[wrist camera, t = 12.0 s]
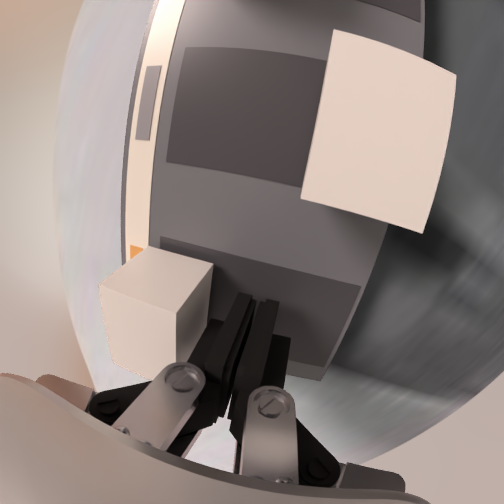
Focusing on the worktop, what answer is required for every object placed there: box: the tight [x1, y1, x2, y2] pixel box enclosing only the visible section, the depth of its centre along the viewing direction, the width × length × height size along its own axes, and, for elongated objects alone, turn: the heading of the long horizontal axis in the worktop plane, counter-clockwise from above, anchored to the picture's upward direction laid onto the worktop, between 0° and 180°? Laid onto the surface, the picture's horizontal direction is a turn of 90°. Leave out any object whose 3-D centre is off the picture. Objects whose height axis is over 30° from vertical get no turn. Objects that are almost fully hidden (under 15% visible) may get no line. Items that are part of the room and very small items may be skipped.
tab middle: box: [300, 29, 456, 233], centre depth 6 cm, size 4×3×4 cm
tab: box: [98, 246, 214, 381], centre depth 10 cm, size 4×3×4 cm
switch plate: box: [121, 0, 425, 381], centre depth 10 cm, size 23×11×2 cm, turn 170°
